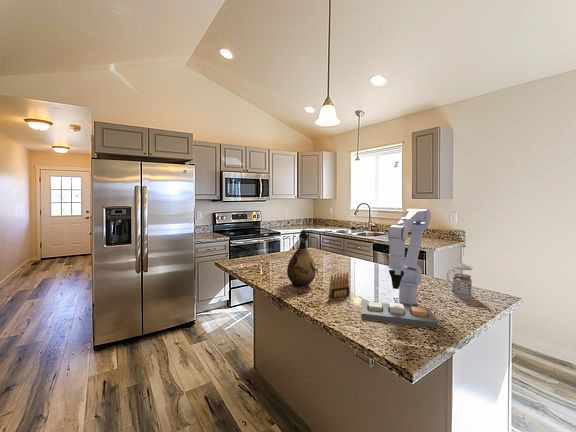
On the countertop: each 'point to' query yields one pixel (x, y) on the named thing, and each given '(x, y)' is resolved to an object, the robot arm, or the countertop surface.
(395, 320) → the keypad
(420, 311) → the orange key
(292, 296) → the countertop surface
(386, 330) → the countertop surface
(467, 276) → the french press
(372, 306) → the sage key
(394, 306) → the white key
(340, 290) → the ammunition clip
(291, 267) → the ceramic jug
